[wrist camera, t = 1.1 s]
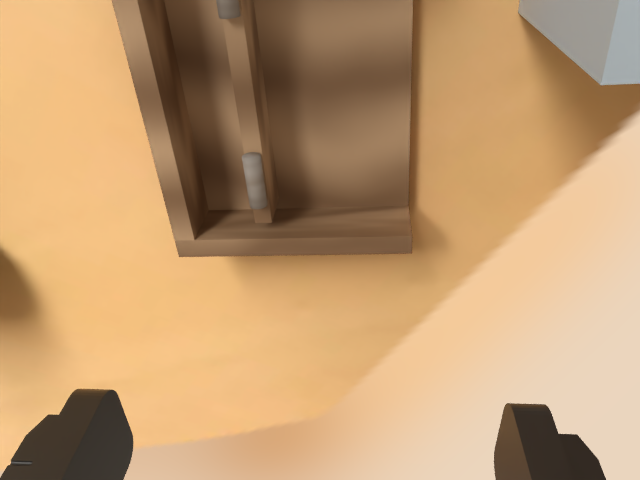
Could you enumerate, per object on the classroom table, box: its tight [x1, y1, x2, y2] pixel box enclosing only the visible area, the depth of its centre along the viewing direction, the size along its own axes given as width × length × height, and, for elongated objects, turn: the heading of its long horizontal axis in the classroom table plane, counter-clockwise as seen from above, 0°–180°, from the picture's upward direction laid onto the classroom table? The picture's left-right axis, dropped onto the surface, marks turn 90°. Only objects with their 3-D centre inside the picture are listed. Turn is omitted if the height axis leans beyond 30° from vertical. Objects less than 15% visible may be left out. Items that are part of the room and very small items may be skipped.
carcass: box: [112, 0, 413, 257], centre depth 28 cm, size 20×14×5 cm
